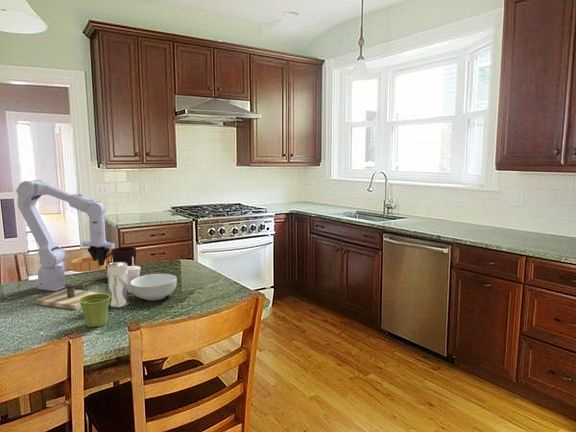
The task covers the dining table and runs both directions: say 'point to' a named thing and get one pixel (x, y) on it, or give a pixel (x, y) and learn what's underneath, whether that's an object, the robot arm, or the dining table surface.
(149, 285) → the cereal bowl
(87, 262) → the faceted orange ring
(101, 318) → the plant pot
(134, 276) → the smoothie
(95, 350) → the dining table surface
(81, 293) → the peg board
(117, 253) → the cup
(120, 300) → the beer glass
